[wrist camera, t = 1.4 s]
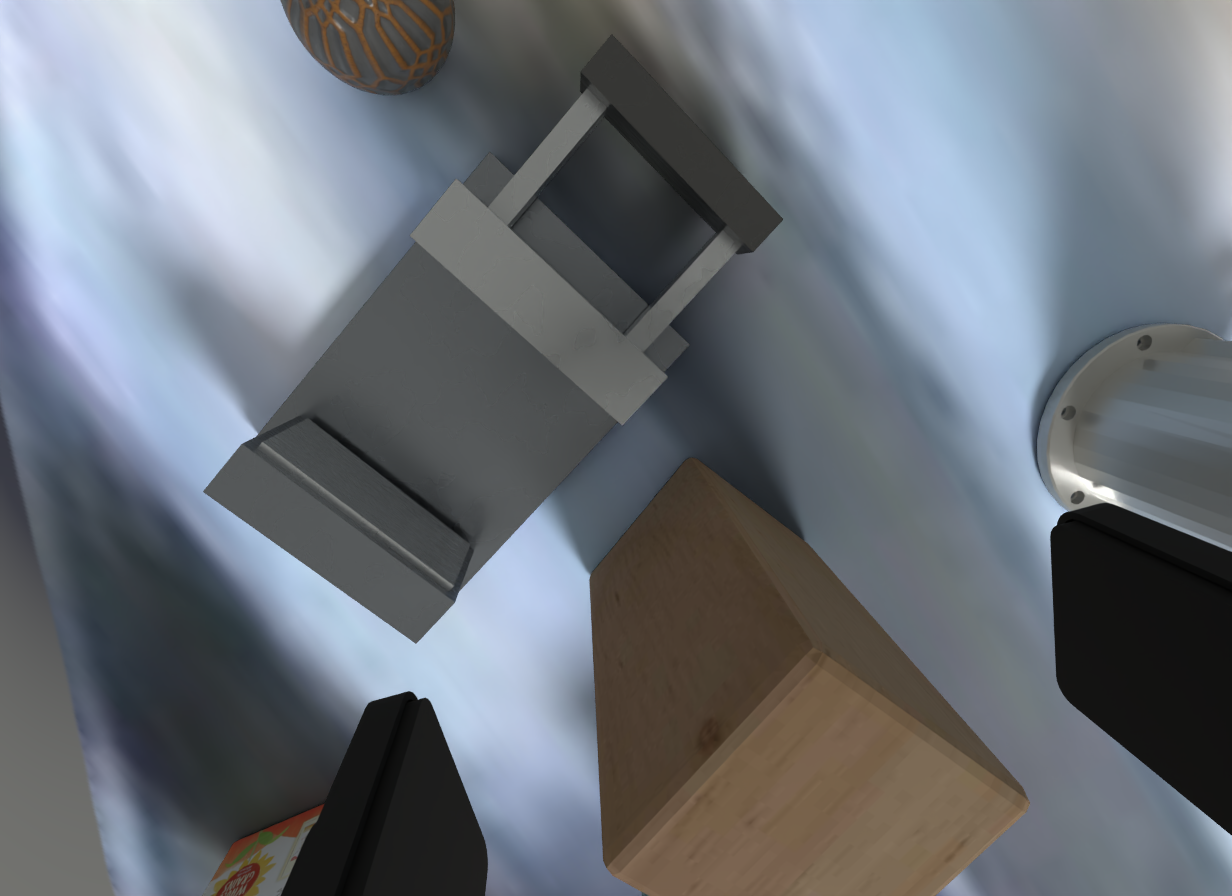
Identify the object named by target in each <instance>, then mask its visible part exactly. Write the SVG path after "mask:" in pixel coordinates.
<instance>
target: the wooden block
mask: <svg viewBox="0 0 1232 896" xmlns="http://www.w3.org/2000/svg"><path fill="white" fill-rule="evenodd" d="M589 581H590V601H591V621H592V642H593V662H594V682H595V703H596V723H597V743H598V764H599V784H600V804H601V824H602V845H603V861H604V863H605V866H606V868H607V869H608V870H609V872H610V873H611V874H612V875H613V876H614V877H616V878H618V879H620V880H622V881H623V882H625V883H627V884H629V885H631V886H632V887H634V888H636V889H638V890H640V891H641V892H643V893H645V894H647V895H649V896H936V895H937V894H938V893H939V892H940V891H941V890H942V889H943V888H944V887H945V886H946V885H948V884H949V883H950V882H951V881H952V880H953V879H954V878H955V877H956V876H957V875H958V874H959V873H961V872H962V871H963V870H964V869H965V868H966V867H967V866H968V865H969V864H970V863H971V862H972V861H974V860H975V859H976V858H977V857H978V856H979V855H980V854H981V853H982V852H983V851H984V850H985V849H987V848H988V847H989V846H990V845H991V844H992V843H993V842H994V841H995V840H996V839H997V838H999V837H1000V836H1001V835H1002V834H1003V833H1004V832H1005V831H1006V830H1007V829H1008V828H1009V827H1010V826H1012V825H1013V824H1014V823H1015V822H1016V821H1017V820H1018V819H1019V818H1020V817H1021V816H1022V815H1023V814H1025V813H1026V811H1027V809H1028V807H1029V804H1030V802H1029V800H1028V798H1027V796H1026V793H1025V791H1024V789H1023V787H1022V786H1021V785H1020V784H1019V783H1018V781H1017V780H1016V779H1015V778H1014V777H1013V776H1012V775H1011V773H1010V772H1009V771H1008V770H1007V769H1006V768H1005V767H1004V766H1003V764H1002V763H1001V762H1000V761H999V760H998V759H997V758H996V756H995V755H994V754H993V753H992V752H991V751H990V750H989V749H988V747H987V746H986V745H985V744H984V743H983V742H982V741H981V739H980V738H979V737H978V736H977V735H976V734H975V733H974V732H973V730H972V729H971V728H970V727H969V726H968V725H967V724H966V722H965V721H964V720H963V719H962V718H961V717H960V716H959V715H958V713H957V712H956V711H955V710H954V709H953V708H952V707H951V705H950V704H949V703H948V702H947V701H946V700H945V699H944V698H943V696H942V695H941V694H940V693H939V692H938V691H937V690H936V688H935V687H934V686H933V685H932V684H931V683H930V682H929V681H928V679H927V678H926V677H925V676H924V675H923V674H922V673H921V671H920V670H919V669H918V668H917V667H916V666H915V665H914V664H913V662H912V661H911V660H910V659H909V658H908V657H907V656H906V654H905V653H904V652H903V651H902V650H901V649H900V648H899V647H898V645H897V644H896V643H895V642H894V641H893V640H892V639H891V637H890V636H889V635H888V634H887V633H886V632H885V631H884V629H883V628H882V627H881V626H880V625H879V624H878V623H877V622H876V620H875V619H874V618H873V617H872V616H871V615H870V614H869V612H868V611H867V610H866V609H865V608H864V607H863V606H862V605H861V603H860V602H859V601H858V600H857V599H856V598H855V597H854V595H853V594H852V593H851V592H850V591H849V590H848V589H847V588H846V586H845V585H844V584H843V583H842V582H841V581H840V580H839V578H838V577H837V576H836V575H835V574H834V573H833V572H832V571H831V569H830V568H829V567H828V566H827V565H826V564H825V563H824V561H823V560H822V559H821V558H820V557H819V556H818V555H817V554H816V552H815V551H814V550H813V549H812V548H811V547H810V546H809V544H808V543H806V542H805V541H804V540H802V539H801V538H800V537H798V536H797V535H796V534H794V533H793V532H792V531H791V530H789V529H788V528H787V527H785V526H784V525H783V524H781V523H780V522H779V521H777V520H776V519H775V518H774V517H772V516H771V515H770V514H768V513H767V512H766V511H764V510H763V509H762V508H761V507H759V506H758V505H757V504H755V503H754V502H753V501H751V500H750V499H749V498H747V497H746V496H745V495H744V494H742V493H741V492H740V491H738V490H737V489H736V488H734V487H733V486H732V485H730V484H729V483H728V482H727V481H725V480H724V479H723V478H721V477H720V476H719V475H717V474H716V473H715V472H713V471H712V470H711V469H710V468H708V467H707V466H706V465H704V464H703V463H702V462H700V461H699V460H698V459H695V458H691V457H690V458H689V459H687V460H685V461H684V462H683V464H682V465H681V466H680V467H679V468H678V470H677V471H676V472H675V473H674V475H673V476H672V477H671V478H670V479H669V481H668V482H667V483H666V484H665V485H664V487H663V488H662V489H661V490H660V491H659V493H658V494H657V495H656V496H655V497H654V499H653V500H652V501H651V502H650V503H649V505H648V506H647V507H646V508H645V509H644V511H643V512H642V513H641V514H640V515H639V517H638V518H637V519H636V520H635V522H634V523H633V524H632V525H631V526H630V528H629V529H628V530H627V531H626V532H625V534H624V535H623V536H622V537H621V538H620V540H619V541H618V542H617V543H616V544H615V546H614V547H613V548H612V549H611V550H610V552H609V553H608V554H607V555H606V556H605V558H604V559H603V560H602V561H601V562H600V564H599V565H598V566H597V567H596V569H595V570H594V571H593V572H592V573H591V576H590V579H589Z"/></svg>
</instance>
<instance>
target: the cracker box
mask: <svg viewBox="0 0 1232 896" xmlns="http://www.w3.org/2000/svg"><path fill="white" fill-rule="evenodd" d="M323 806H324V804H322V805H320V806H318V807H315V808H313V809H311V810H308V811H306V812H304V813H301V814H299V815H297V816H294V817H292V818H290V819H287V820H285V821H283V822H280V823H278V824H275V825H273V826H271V827H269V828H266V829H264V830H261V831H259V832H257V833H255V834H252V835H250V836H247V837H245V838H242V839H240V840H238V841H236V842H234V843H233V845H232V846H231V848H230V850H229V851H228V853H227V855H226V857H225V858H224V860H223V861H222V863H221V865H220V866H219V868H218V870H217V872H216V873H215V875H214V877H213V878H212V880H211V882H210V883H209V885H208V887H207V888H206V890H205V892H204V893H203V895H202V896H281V893H282V891H283V889H284V886H285V884H286V882H287V880H288V877H289V875H290V873H291V870H292V868H293V866H294V863H295V861H296V859H297V857H298V854H299V852H300V850H301V847H302V845H303V843H304V841H305V838H306V836H307V834H308V833H309V831H310V829H311V828H312V826H313V825H314V824H315V823H316V822H317V820H318V818H319V815H320V813H321V811H322V808H323Z"/></svg>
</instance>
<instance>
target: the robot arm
mask: <svg viewBox="0 0 1232 896" xmlns="http://www.w3.org/2000/svg"><path fill="white" fill-rule="evenodd" d="M1037 460H1038V464H1039V469H1040V473H1041V477H1042V479H1043V481H1044V483H1045V485H1046V487H1047V489H1048V491H1049V493H1050V494H1051V495H1052V497H1053V498H1054V499H1055V500H1056V501H1057V503H1058V504H1059V505H1060V506H1062V507H1063V508H1064V509H1065V510H1067V511H1068V512H1066V513H1064V514H1063V515H1061V516H1060V518H1059V520H1058V522H1057V526H1055V527H1054V528H1053V529H1052V531H1051V536H1050V541H1051V564H1052V588H1053V611H1054V635H1055V658H1056V677H1057V682H1058V685H1059V688H1060V690H1061V691H1062V693H1063V695H1064V696H1065V697H1066V699H1067V700H1068V701H1069V702H1070V703H1071V704H1072V705H1073V706H1074V707H1076V708H1077V709H1078V710H1079V711H1080V712H1082V713H1083V714H1084V715H1085V716H1087V717H1088V718H1089V719H1090V720H1091V721H1093V722H1094V723H1095V724H1096V725H1098V726H1099V727H1100V728H1101V729H1102V730H1104V731H1105V732H1106V733H1107V734H1108V735H1110V736H1111V737H1112V738H1113V739H1115V740H1116V741H1117V742H1118V743H1119V744H1121V745H1122V746H1123V747H1124V748H1126V749H1127V750H1128V751H1129V752H1130V753H1132V754H1133V755H1134V756H1135V757H1137V758H1138V759H1139V760H1140V761H1141V762H1143V763H1144V764H1145V765H1146V766H1148V767H1149V768H1150V769H1151V770H1152V771H1154V772H1155V773H1156V774H1157V775H1159V776H1160V777H1161V778H1162V779H1163V780H1165V781H1166V782H1167V783H1168V784H1170V785H1171V786H1172V787H1173V788H1174V789H1176V790H1177V791H1178V792H1179V793H1180V794H1182V795H1183V796H1184V797H1185V798H1187V799H1188V800H1189V801H1190V802H1191V803H1193V804H1194V805H1195V806H1196V807H1198V808H1199V809H1200V810H1201V811H1202V812H1204V813H1205V814H1206V815H1207V816H1209V817H1210V818H1211V819H1212V820H1213V821H1215V822H1216V823H1217V824H1218V825H1220V826H1221V827H1222V828H1223V829H1224V830H1226V831H1227V832H1228V833H1229V834H1231V835H1232V341H1224V340H1223V339H1222V338H1221V337H1219V336H1217V335H1215V334H1213V333H1211V332H1209V331H1207V330H1206V329H1202V328H1198V327H1194V326H1190V325H1184V324H1171V323H1158V324H1145V325H1141V326H1137V327H1133V328H1130V329H1126V330H1123V331H1121V332H1119V333H1117V334H1115V335H1113V336H1110V337H1108V338H1106V339H1104V340H1103V341H1101V342H1100V343H1099V344H1097V345H1096V346H1094V347H1093V348H1091V349H1090V350H1088V351H1087V352H1086V353H1085V354H1084V355H1083V356H1082V357H1080V358H1079V359H1078V360H1077V361H1076V362H1075V363H1074V364H1073V365H1072V366H1071V367H1070V368H1069V370H1068V371H1067V372H1066V373H1065V375H1064V376H1063V377H1062V379H1061V380H1060V381H1059V382H1058V384H1057V386H1056V387H1055V389H1054V391H1053V393H1052V395H1051V396H1050V398H1049V400H1048V402H1047V404H1046V407H1045V410H1044V413H1043V416H1042V418H1041V421H1040V426H1039V432H1038V438H1037ZM487 870H488V857H487V849H486V844H485V840H484V837H483V835H482V832H481V829H480V827H479V824H478V822H477V819H476V817H475V814H474V811H473V809H472V806H471V804H470V801H469V799H468V796H467V794H466V791H465V788H464V786H463V783H462V781H461V778H460V776H459V773H458V770H457V768H456V765H455V763H454V760H453V758H452V755H451V753H450V750H449V747H448V745H447V742H446V740H445V737H444V735H443V732H442V729H441V727H440V724H439V722H438V719H437V717H436V714H435V712H434V709H433V706H432V704H431V702H430V701H429V700H428V699H427V698H422V699H419V700H418V699H417V697H416V696H415V694H414V693H413V692H410V691H408V692H404V693H401V694H397V695H393V696H390V697H386V698H382V699H379V700H375V701H372V702H370V703H368V705H367V707H366V708H365V710H364V713H363V715H362V717H361V720H360V722H359V724H358V727H357V729H356V731H355V734H354V736H353V738H352V741H351V743H350V745H349V748H348V750H347V752H346V755H345V757H344V759H343V762H342V764H341V766H340V769H339V771H338V773H337V776H336V778H335V780H334V783H333V785H332V787H331V790H330V792H329V794H328V797H327V799H326V801H325V804H324V806H323V808H322V811H321V813H320V815H319V818H318V820H317V822H316V823H315V824H314V825H313V826H312V828H311V829H310V831H309V833H308V834H307V836H306V838H305V841H304V843H303V845H302V847H301V850H300V852H299V854H298V857H297V859H296V861H295V863H294V866H293V868H292V870H291V873H290V875H289V877H288V880H287V882H286V884H285V886H284V889H283V891H282V893H281V896H485V889H486V880H487Z"/></svg>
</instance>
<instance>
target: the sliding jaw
mask: <svg viewBox="0 0 1232 896" xmlns="http://www.w3.org/2000/svg"><path fill="white" fill-rule="evenodd" d="M580 92H581V93H582V95H581V96H580V97H579V99H578V100H577V101H576V102H575V103H574V105H573V106H572V107H571V108H570V109H569V111H568V112H567V113H566V114H565V115H564V117H563V118H562V119H561V120H560V121H559V123H558V124H557V125H556V126H555V127H554V129H553V130H552V131H551V132H550V133H549V135H548V136H547V137H546V138H545V139H544V141H543V142H542V143H541V144H540V145H539V147H538V148H537V149H536V150H535V151H534V153H533V154H532V155H531V156H530V157H529V159H528V160H527V161H526V162H525V163H524V165H523V166H522V167H521V168H520V169H519V171H518V172H517V173H516V174H515V175H514V177H513V178H512V179H511V180H510V181H509V183H508V184H507V185H506V186H505V187H504V189H503V190H502V191H501V192H500V193H499V195H498V196H497V197H496V198H495V199H494V201H493V202H492V203H491V204H490V205H489V207H488V206H487V205H486V204H485V203H484V202H483V201H482V200H481V199H480V198H479V197H477V196H476V195H475V194H474V193H473V192H471V191H470V190H469V189H468V188H467V187H466V186H464V185H463V184H462V183H461V182H460V181H459V180H457V179H455V181H454V182H453V183H452V184H451V186H450V187H449V188H448V189H447V190H446V192H445V193H444V194H443V195H442V197H441V198H440V199H439V200H438V201H437V203H436V204H435V205H434V206H433V208H432V209H431V210H430V211H429V213H428V214H427V215H426V216H425V217H424V219H423V220H422V221H421V222H420V224H419V225H418V226H417V227H416V228H415V230H414V231H413V232H412V233H411V235H410V237H412V238H413V239H414V240H415V241H416V242H417V243H418V244H419V245H421V246H422V247H423V248H424V249H425V250H426V251H427V252H428V253H430V254H431V255H432V256H433V257H434V258H435V259H436V260H437V261H438V262H440V263H441V264H442V265H443V266H444V267H445V268H446V269H447V270H449V271H450V272H451V273H452V274H453V275H454V276H455V277H456V278H458V279H459V280H460V281H461V282H462V283H463V284H464V285H465V286H466V287H468V288H469V289H470V290H471V291H472V292H473V293H474V294H475V295H477V296H478V297H479V298H480V299H481V300H482V301H483V302H484V303H486V304H487V305H488V306H489V307H490V308H491V309H492V310H493V311H494V312H496V313H497V314H498V315H499V316H500V317H501V318H502V319H503V320H505V321H506V322H507V323H508V324H509V325H510V326H511V327H512V328H514V329H515V330H516V331H517V332H518V333H519V334H520V335H521V336H522V337H524V338H525V339H526V340H527V341H528V342H529V343H530V344H531V345H533V346H534V347H535V348H536V349H537V350H538V351H539V352H540V353H541V354H543V355H544V356H545V357H546V358H547V359H548V360H549V361H550V362H552V363H553V364H554V365H555V366H556V367H557V368H558V369H559V370H561V371H562V372H563V373H564V374H565V375H566V376H567V377H568V378H569V379H571V380H572V381H573V382H574V383H575V384H576V385H577V386H578V387H580V388H581V389H582V390H583V391H584V392H585V393H586V394H587V395H589V396H590V397H591V398H592V399H593V400H594V401H595V402H596V403H597V404H599V405H600V406H601V407H602V408H603V409H604V410H605V411H606V412H608V413H609V414H610V415H611V416H612V417H613V418H614V419H615V420H617V421H618V422H619V423H620V424H621V425H622V426H623V425H624V424H625V422H626V421H627V420H628V419H629V418H630V417H631V416H632V415H633V414H634V413H635V412H636V411H637V410H638V409H639V408H640V406H641V405H642V404H643V403H644V402H645V401H646V400H647V399H648V398H649V397H650V396H651V395H652V394H653V393H654V392H655V391H656V389H657V388H658V387H659V386H660V385H661V384H662V383H663V382H664V381H665V380H666V379H667V378H668V377H667V376H666V375H665V373H664V372H663V371H662V370H661V369H660V368H659V367H658V366H657V365H656V364H655V363H654V362H653V361H652V360H651V359H650V358H649V357H648V356H647V355H646V354H645V353H644V351H645V350H646V349H647V348H648V347H649V345H650V344H651V343H652V342H653V341H654V340H655V339H656V338H657V337H658V336H659V335H660V334H661V332H662V331H663V330H664V329H665V328H666V327H667V326H668V325H669V324H670V323H671V322H672V320H673V319H674V318H675V317H676V316H677V315H678V314H679V313H680V312H681V311H682V310H683V309H684V307H685V306H686V305H687V304H688V303H689V302H690V301H691V300H692V299H693V298H694V297H695V296H696V294H697V293H698V292H699V291H700V290H701V289H702V288H703V287H704V286H705V285H706V284H707V283H708V281H709V280H710V279H711V278H712V277H713V276H714V275H715V274H716V273H717V272H718V271H719V270H720V268H721V267H722V266H723V265H724V264H725V263H726V262H727V261H728V260H729V259H730V258H731V257H732V255H733V254H734V253H736V254H744V253H750V252H754V251H755V250H756V248H757V247H758V246H759V245H760V244H761V243H762V242H763V241H764V240H765V239H766V238H767V237H768V236H769V234H770V233H771V232H772V231H773V230H774V229H775V228H776V227H777V226H778V225H779V224H780V223H781V222H782V220H783V218H782V217H781V216H780V215H779V214H778V213H777V212H776V211H775V210H774V209H773V208H772V207H771V206H770V204H769V203H768V202H767V201H766V200H765V199H764V198H763V197H762V196H761V195H760V194H759V193H758V191H757V190H756V189H755V188H754V187H753V186H752V185H751V184H750V183H749V182H748V181H747V180H746V179H745V177H744V176H743V175H742V174H741V173H740V172H739V171H738V170H737V169H736V168H735V167H734V166H733V164H732V163H731V162H730V161H729V160H728V159H727V158H726V157H725V156H724V155H723V154H722V153H721V151H720V150H719V149H718V148H717V147H716V146H715V145H714V144H713V143H712V142H711V141H710V140H709V139H708V137H707V136H706V135H705V134H704V133H703V132H702V131H701V130H700V129H699V128H698V127H697V126H696V124H695V123H694V122H693V121H692V120H691V119H690V118H689V117H688V116H687V115H686V114H685V113H684V112H683V110H682V109H681V108H680V107H679V106H678V105H677V104H676V103H675V102H674V101H673V100H672V99H671V97H670V96H669V95H668V94H667V93H666V92H665V91H664V90H663V89H662V88H661V87H660V86H659V85H658V83H657V82H656V81H655V80H654V79H653V78H652V77H651V76H650V75H649V74H648V73H647V72H646V70H645V69H644V68H643V67H642V66H641V65H640V64H639V63H638V62H637V61H636V60H635V59H634V58H633V56H632V55H631V54H630V53H629V52H628V51H627V50H626V49H625V48H624V47H623V46H622V45H621V43H620V42H619V41H618V40H617V39H616V38H615V37H614V36H613V35H611V36H610V37H609V38H608V39H607V41H606V42H605V43H604V44H603V45H602V47H601V48H600V49H599V50H598V51H597V53H596V54H595V55H594V56H593V58H592V59H591V60H590V61H589V62H588V64H587V65H586V66H585V67H584V68H583V70H582V71H581V80H580ZM604 117H605V118H606V119H607V120H608V121H609V122H610V123H611V124H612V125H613V126H614V127H615V128H616V129H617V130H618V131H619V133H620V134H621V135H622V136H623V137H624V138H625V139H626V140H627V141H628V142H629V143H630V144H631V145H632V146H633V147H634V148H635V149H636V150H637V151H638V152H639V153H640V154H641V155H642V156H643V157H644V158H645V159H646V161H647V162H648V163H649V164H650V165H651V166H652V167H653V168H654V169H655V170H656V171H657V172H658V173H659V174H660V175H661V176H662V177H663V178H664V179H665V180H666V181H667V182H668V183H669V184H670V185H671V186H672V187H673V188H674V190H675V191H676V192H677V193H678V194H679V195H680V196H681V197H682V198H683V199H684V200H685V201H686V202H687V203H688V204H689V205H690V206H691V207H692V208H693V209H694V210H695V211H696V212H697V213H698V214H699V215H700V216H701V217H702V219H703V220H704V221H705V222H706V223H707V224H708V225H709V226H710V227H711V228H712V229H713V230H714V231H715V232H716V233H715V234H714V235H713V236H712V237H711V238H710V239H709V241H708V242H707V243H706V244H705V245H704V246H703V247H702V248H701V249H700V250H699V251H698V253H697V254H696V255H695V256H694V257H693V258H692V259H691V260H690V261H689V262H688V264H687V265H686V266H685V267H684V268H683V269H682V270H681V271H680V272H679V273H678V275H677V276H676V277H675V278H674V279H673V280H672V281H671V282H670V283H669V284H668V286H667V287H666V288H665V289H664V290H663V291H662V292H661V293H660V294H659V295H658V297H657V298H656V299H655V300H654V301H653V302H652V303H651V304H650V305H649V306H648V308H647V309H646V310H645V311H644V312H643V313H642V314H641V315H640V316H639V317H638V318H637V320H636V321H635V322H634V323H633V324H632V325H631V326H630V327H629V328H628V329H627V331H626V332H625V333H624V334H623V333H622V332H621V331H620V330H619V329H618V328H617V327H616V326H615V325H614V324H613V323H612V322H611V321H610V320H608V319H607V318H606V317H605V316H604V315H603V314H602V313H601V312H600V311H599V310H598V309H597V308H596V307H595V306H594V305H592V304H591V303H590V302H589V301H588V300H587V299H586V298H585V297H584V296H583V295H582V294H581V293H580V292H579V291H578V290H576V289H575V288H574V287H573V286H572V285H571V284H570V283H569V282H568V281H567V280H566V279H565V278H564V277H563V276H562V275H561V274H559V273H558V272H557V271H556V270H555V269H554V268H553V267H552V266H551V265H550V264H549V263H548V262H547V261H546V260H545V259H543V258H542V257H541V256H540V255H539V254H538V253H537V252H536V251H535V250H534V249H533V248H532V247H531V246H530V245H529V244H528V243H526V242H525V241H524V240H523V239H522V238H521V237H520V236H519V235H518V234H517V233H516V232H515V231H514V230H513V229H512V228H511V227H512V226H513V225H514V224H515V223H516V221H517V220H518V219H519V218H520V217H521V215H522V214H523V213H524V212H525V211H526V210H527V208H528V207H529V206H530V205H531V204H532V202H533V201H534V200H535V199H536V198H537V196H538V195H539V194H540V193H541V192H542V191H543V189H544V188H545V187H546V186H547V185H548V183H549V182H550V181H551V180H552V179H553V178H554V176H555V175H556V174H557V173H558V172H559V170H560V169H561V168H562V167H563V166H564V165H565V163H566V162H567V161H568V160H569V159H570V157H571V156H572V155H573V154H574V153H575V152H576V150H577V149H578V148H579V147H580V146H581V144H582V143H583V142H584V141H585V140H586V139H587V137H588V136H589V135H590V134H591V133H592V131H593V130H594V129H595V128H596V127H597V125H598V124H599V123H600V122H601V121H602V120H603V118H604Z"/></svg>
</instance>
